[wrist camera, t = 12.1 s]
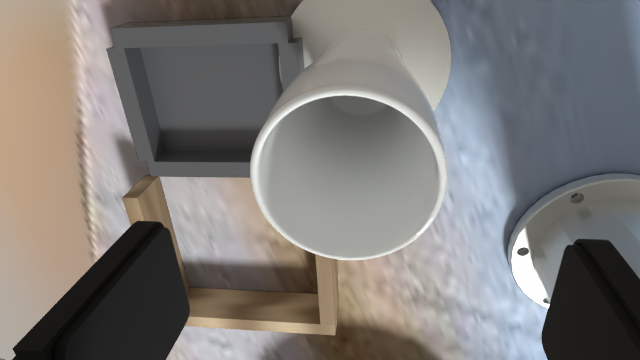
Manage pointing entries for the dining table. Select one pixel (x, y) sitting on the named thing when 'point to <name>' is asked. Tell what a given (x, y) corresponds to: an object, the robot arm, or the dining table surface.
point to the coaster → (388, 19)
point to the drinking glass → (351, 153)
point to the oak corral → (244, 305)
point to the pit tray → (202, 89)
